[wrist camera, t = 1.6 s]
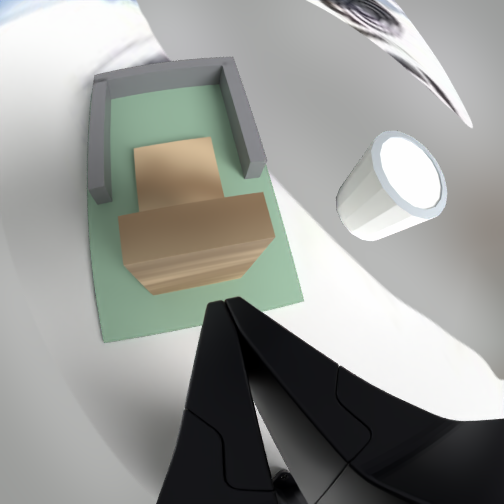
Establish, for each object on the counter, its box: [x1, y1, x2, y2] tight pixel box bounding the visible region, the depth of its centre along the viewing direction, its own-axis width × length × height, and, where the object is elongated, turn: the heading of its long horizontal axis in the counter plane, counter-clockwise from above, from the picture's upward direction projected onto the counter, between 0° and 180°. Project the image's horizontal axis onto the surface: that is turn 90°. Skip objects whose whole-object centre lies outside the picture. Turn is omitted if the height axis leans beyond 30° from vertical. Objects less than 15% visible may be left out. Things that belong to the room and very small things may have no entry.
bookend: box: [118, 137, 275, 295], centre depth 17 cm, size 11×6×9 cm, turn 13°
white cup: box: [336, 131, 447, 241], centre depth 21 cm, size 7×7×7 cm
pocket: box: [88, 57, 267, 205], centre depth 22 cm, size 12×12×2 cm
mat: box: [87, 84, 304, 343], centre depth 22 cm, size 22×14×1 cm, turn 13°
